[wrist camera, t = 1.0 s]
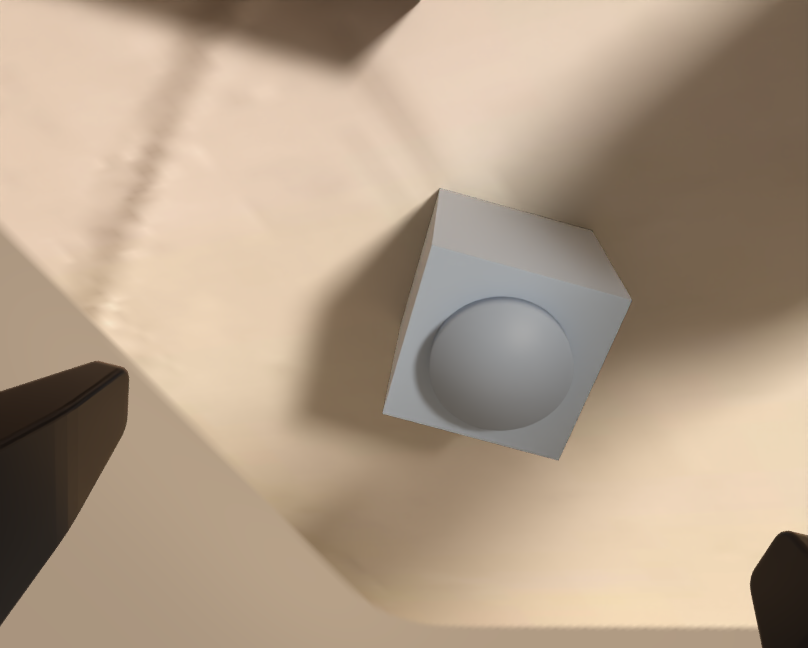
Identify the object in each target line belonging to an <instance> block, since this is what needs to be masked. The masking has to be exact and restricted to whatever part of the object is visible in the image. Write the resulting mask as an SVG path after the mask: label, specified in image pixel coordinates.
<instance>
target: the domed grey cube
mask: <svg viewBox="0 0 808 648" xmlns="http://www.w3.org/2000/svg"><path fill="white" fill-rule="evenodd" d="M631 302H632V299H631V297H630V295H629V294H628V292H627V290H626V288H625V287H624V285H623V283H622V282H621V280H620V278H619V276H618V275H617V273H616V271H615V269H614V268H613V266H612V264H611V262H610V261H609V259H608V257H607V256H606V254H605V252H604V250H603V249H602V247H601V245H600V243H599V242H598V240H597V238H596V237H595V235H594V233H593V231H591V230H588V229H584V228H581V227H577V226H574V225H570V224H566V223H563V222H559V221H556V220H552V219H549V218H545V217H541V216H538V215H534V214H531V213H527V212H524V211H520V210H516V209H513V208H509V207H506V206H502V205H499V204H495V203H491V202H488V201H484V200H481V199H477V198H474V197H470V196H466V195H463V194H459V193H456V192H452V191H449V190H445V189H441V188H440V189H439V193H438V196H437V200H436V203H435V207H434V210H433V214H432V217H431V221H430V224H429V228H428V231H427V235H426V238H425V242H424V245H423V248H422V252H421V255H420V259H419V262H418V266H417V269H416V273H415V276H414V280H413V283H412V287H411V290H410V294H409V297H408V301H407V304H406V308H405V311H404V314H403V318H402V321H401V325H400V330H399V334H398V339H397V344H396V349H395V354H394V359H393V364H392V369H391V374H390V379H389V383H388V388H387V393H386V398H385V403H384V408H383V413H382V414H385V415H389V416H393V417H397V418H400V419H404V420H408V421H412V422H416V423H419V424H423V425H427V426H431V427H434V428H438V429H442V430H446V431H449V432H453V433H457V434H461V435H464V436H468V437H472V438H476V439H480V440H483V441H487V442H491V443H495V444H498V445H502V446H506V447H510V448H513V449H517V450H521V451H525V452H528V453H532V454H536V455H540V456H543V457H547V458H551V459H555V460H559V458H560V456H561V454H562V452H563V450H564V447H565V445H566V443H567V441H568V439H569V437H570V434H571V432H572V430H573V428H574V426H575V424H576V421H577V419H578V417H579V415H580V413H581V411H582V408H583V406H584V404H585V402H586V400H587V397H588V395H589V393H590V391H591V389H592V387H593V384H594V382H595V380H596V378H597V376H598V374H599V371H600V369H601V367H602V365H603V363H604V361H605V358H606V356H607V354H608V352H609V350H610V347H611V345H612V343H613V341H614V339H615V337H616V334H617V332H618V330H619V328H620V326H621V324H622V321H623V319H624V317H625V315H626V313H627V311H628V308H629V306H630V304H631Z"/></svg>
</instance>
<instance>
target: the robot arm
mask: <svg viewBox="0 0 808 648" xmlns="http://www.w3.org/2000/svg"><path fill="white" fill-rule="evenodd" d="M128 393H129V375H128V371H127V370H126V369H125V368H124V367H121V366H117V365H113V364H108V363H104V362H101V361H94V362H90V363H87V364H84V365H81V366H78V367H75V368H72V369H69V370H65V371H62V372H59V373H56V374H53V375H50V376H47V377H44V378H40V379H37V380H34V381H31V382H28V383H25V384H22V385H19V386H16V387H13V388H9V389H6V390H4V391H0V626H1V624H2V623H3V621H4V620H5V619H6V617H7V616H8V615H9V613H10V612H11V610H12V609H13V608H14V606H15V605H16V603H17V602H18V601H19V599H20V598H21V597H22V595H23V594H24V592H25V591H26V590H27V588H28V587H29V585H30V584H31V583H32V581H33V580H34V579H35V577H36V576H37V574H38V573H39V572H40V570H41V569H42V567H43V566H44V565H45V563H46V562H47V560H48V559H49V558H50V556H51V555H52V553H53V552H54V551H55V549H56V548H57V547H58V545H59V544H60V542H61V541H62V539H63V538H64V536H65V535H66V533H67V532H68V530H69V528H70V527H71V525H72V524H73V522H74V520H75V519H76V517H77V515H78V513H79V512H80V510H81V508H82V506H83V505H84V503H85V501H86V499H87V497H88V496H89V494H90V492H91V490H92V488H93V486H94V485H95V483H96V481H97V480H98V478H99V476H100V474H101V473H102V471H103V469H104V467H105V465H106V464H107V462H108V460H109V458H110V457H111V455H112V453H113V451H114V449H115V448H116V446H117V444H118V442H119V440H120V439H121V437H122V435H123V432H124V430H125V427H126V423H127V415H128ZM750 590H751V596H752V600H753V605H754V610H755V615H756V620H757V625H758V630H759V634H760V639H761V644H762V648H808V535H804V534H800V533H796V532H792V531H783V532H781V533H780V534H778V535H777V536H776V537H775V539H774V540H773V542H772V543H771V545H770V546H769V548H768V549H767V551H766V552H765V554H764V555H763V557H762V558H761V560H760V561H759V563H758V564H757V566H756V567H755V569H754V571H753V573H752V576H751V581H750Z"/></svg>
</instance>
